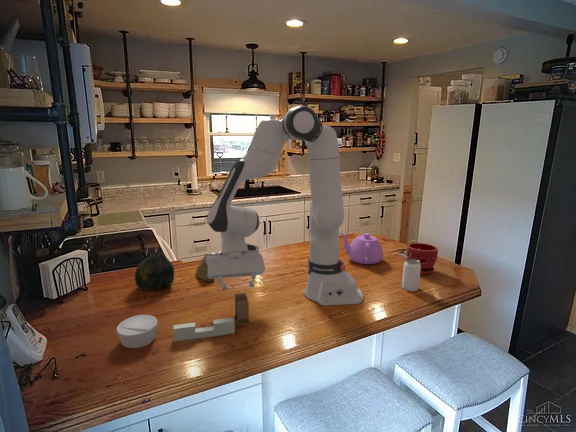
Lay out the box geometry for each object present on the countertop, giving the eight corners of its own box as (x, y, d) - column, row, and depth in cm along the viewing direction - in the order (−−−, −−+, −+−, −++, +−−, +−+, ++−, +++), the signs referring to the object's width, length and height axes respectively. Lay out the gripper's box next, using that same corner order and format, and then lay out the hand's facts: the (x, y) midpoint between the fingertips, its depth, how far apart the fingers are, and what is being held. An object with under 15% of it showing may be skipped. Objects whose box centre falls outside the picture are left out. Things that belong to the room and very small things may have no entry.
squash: (121, 275, 135) (138, 252, 129) (151, 264, 148) (168, 243, 142) (142, 304, 133) (160, 281, 126) (171, 290, 146) (188, 269, 140)
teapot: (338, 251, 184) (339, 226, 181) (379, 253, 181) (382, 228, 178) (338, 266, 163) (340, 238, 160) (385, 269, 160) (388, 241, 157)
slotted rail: (233, 329, 109) (233, 317, 108) (234, 333, 107) (234, 321, 106) (174, 337, 104) (173, 325, 104) (174, 341, 102) (173, 329, 101)
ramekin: (117, 355, 96) (115, 338, 95) (118, 334, 106) (117, 318, 105) (159, 346, 101) (158, 329, 99) (157, 326, 110) (156, 311, 109)
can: (420, 288, 141) (424, 260, 138) (414, 293, 137) (417, 265, 134) (405, 283, 146) (408, 256, 143) (398, 288, 141) (401, 260, 138)
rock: (220, 276, 143) (220, 265, 152) (207, 263, 140) (207, 252, 149) (200, 291, 144) (200, 279, 153) (186, 278, 140) (187, 266, 149)
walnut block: (235, 315, 118) (234, 294, 116) (245, 314, 119) (245, 292, 117) (238, 326, 111) (237, 303, 109) (248, 324, 112) (248, 302, 110)
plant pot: (441, 272, 158) (444, 247, 155) (423, 278, 151) (426, 252, 148) (416, 263, 169) (419, 240, 166) (399, 268, 161) (401, 244, 159)
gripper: (205, 249, 120) (207, 287, 113) (262, 246, 126) (268, 281, 119) (205, 257, 125) (207, 294, 118) (260, 253, 131) (265, 288, 124)
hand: (238, 287), depth 119 cm, fingers open, 8 cm apart
